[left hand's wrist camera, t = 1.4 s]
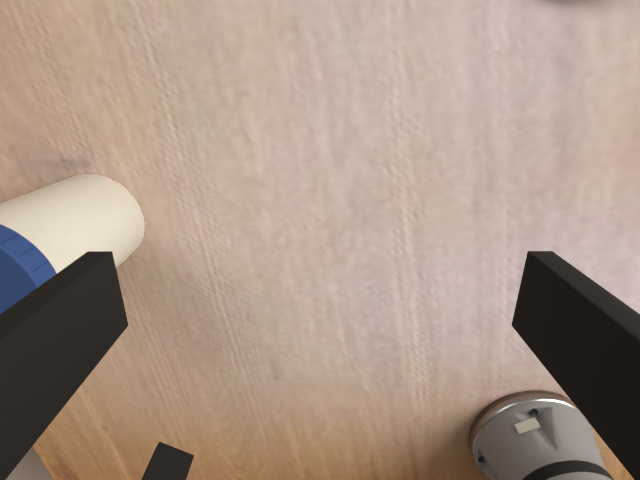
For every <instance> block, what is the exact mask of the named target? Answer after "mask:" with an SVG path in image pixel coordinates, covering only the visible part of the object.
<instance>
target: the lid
mask: <svg viewBox="0 0 640 480" xmlns="http://www.w3.org/2000/svg"><path fill="white" fill-rule="evenodd" d="M56 274H57V273H56V271H55V269H54V268H53V266H52V265H51V263H50V262H49V260H48V259H47V258H46V257H45V256H44V254H43V253H42V252H41V251H40V250H39V249H38V248H37V247H36V246H35V245H34V244H32V243H31V242H30V241H29V240H27V239H26V238H25V237H23V236H22V235H20V234H19V233H17V232H15V231H14V230H12V229H10V228H8V227H6V226H4V225H1V224H0V314H2V313H3V312H4V311H6V310H7V309H8V308H10V307H11V306H13V305H14V304H15V303H17V302H18V301H20V300H21V299H22V298H24V297H25V296H27V295H28V294H29V293H31V292H32V291H34V290H35V289H36V288H38V287H39V286H40V285H42V284H43V283H45V282H46V281H47V280H49V279H50V278H52V277H53V276H54V275H56Z"/></svg>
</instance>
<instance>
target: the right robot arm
mask: <svg viewBox="0 0 640 480" xmlns="http://www.w3.org/2000/svg"><path fill="white" fill-rule="evenodd" d="M469 447H470V450H471V453H472V455H473V458H474V460H475V462H476V464H477V466H478V468H479V469H480V470H481V471H482V473H483V474H484V475H485V476H486V477H487V479H488V480H614V479H613V478H612V477H611V475H610V474H609V473H608V471H607V470H606V468H605V465H604V463H603V460H602V457H601V454H600V451H599V449H598V446H597V443H596V440H595V437H594V435H593V432H592V429H591V426H590V424H589V422H588V420H587V419H586V418H585V417H584V415H583V414H582V413H581V412H580V410H579V409H578V408H577V407H576V405H575V404H574V403H573V402H572V401H571V400H570V399H568V398H566V397H565V396H562V395H560V394H557V393H553V392H548V391H526V392H520V393H516V394H513V395H510V396H507V397H504V398H502V399H500V400H498V401H497V402H495V403H493V404H492V405H490V406H489V407H488V408H486V409H485V410H484V411H483V412H482V413H481V414H480V415H479V416H478V418H477V419H476V420H475V422H474V423H473V425H472V428H471V430H470V434H469ZM193 457H194V455H192V454H189V453H187V452H184V451H182V450H179V449H176V448H174V447H171V446H169V445H166V444H164V443H161V442H159V444H158V445H157V447H156V449H155V451H154V453H153V456H152V458H151V460H150V462H149V464H148V467H147V469H146V471H145V473H144V475H143V478H142V480H186V478H187V475H188V472H189V469H190V466H191V463H192V460H193Z"/></svg>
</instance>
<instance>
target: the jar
mask: <svg viewBox="0 0 640 480" xmlns="http://www.w3.org/2000/svg"><path fill="white" fill-rule="evenodd" d="M0 224H1V225H4V226H6V227H8V228H10V229H12V230H14V231H15V232H17V233H19V234H20V235H22V236H23V237H25V238H26V239H27V240H29V241H30V242H31V243H32V244H34V245H35V246H36V247H37V248H38V249H39V250H40V251H41V252H42V253H43V254H44V256H45V257H46V258H47V259H48V260H49V262H50V263H51V265H52V266H53V268H54V269H55V271H56V273H59V272H60V271H61V270H63V269H64V268H65V267H67V266H68V265H70V264H71V263H72V262H74V261H75V260H77V259H78V258H79V257H81V256H82V255H84V254H85V253H86V252H88V251H112V253H113V258H114V262H115V267H116V268H117V267H118V266H119V265H120V264H121V263H122V262H124V261H125V260H126V259H127V258H128V257H129V256H130V255H131V254H132V253H133V252H134V251H136V250H137V248H138V247H139V246H140V244H141V242H142V239H143V236H144V231H145V223H144V217H143V213H142V211H141V208H140V206H139V204H138V202H137V201H136V200H135V198H134V197H133V196H132V195H131V193H130V192H129V191H128V190H127V189H125V188H124V187H123V186H122V185H120V184H119V183H117V182H115V181H114V180H112V179H109V178H107V177H104V176H101V175H96V174H80V175H75V176H72V177H70V178H67V179H64V180H62V181H59V182H56V183H54V184H51V185H48V186H45V187H43V188H40V189H37V190H35V191H32V192H29V193H27V194H24V195H21V196H19V197H16V198H13V199H11V200H8V201H5V202H2V203H0Z"/></svg>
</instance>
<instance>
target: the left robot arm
mask: <svg viewBox="0 0 640 480" xmlns="http://www.w3.org/2000/svg"><path fill="white" fill-rule="evenodd" d="M127 326H128V322H127V317H126V312H125V308H124V303H123V299H122V294H121V290H120V285H119V281H118V276H117V271H116V267H115V262H114V258H113V253H112V251H88V252H86V253H85V254H84V255H82V256H81V257H79V258H78V259H77V260H75V261H74V262H72V263H71V264H70V265H68V266H67V267H65V268H64V269H63V270H61V271H60V272H59V273H57V274H56V275H54V276H53V277H52V278H50V279H49V280H47V281H46V282H45V283H43V284H42V285H40V286H39V287H38V288H36V289H35V290H34V291H32V292H31V293H29V294H28V295H27V296H25V297H24V298H22V299H21V300H20V301H18V302H17V303H15V304H14V305H13V306H11V307H10V308H8V309H7V310H6V311H4V312H3V313H2V314H0V480H5V479H6V478H7V477H8V476H9V474H10V473H11V472H12V471H13V469H14V468H15V467H16V466H17V464H18V463H19V462H20V461H21V459H22V458H23V457H24V456H25V454H26V453H27V452H28V451H29V449H30V448H31V447H32V446H33V444H34V443H35V442H36V441H37V439H38V438H39V437H40V436H41V434H42V433H43V432H44V431H45V429H46V428H47V427H48V425H49V424H50V423H51V422H52V420H53V419H54V418H55V417H56V415H57V414H58V413H59V412H60V410H61V409H62V408H63V407H64V405H65V404H66V403H67V402H68V400H69V399H70V398H71V397H72V395H73V394H74V393H75V392H76V390H77V389H78V388H79V387H80V385H81V384H82V383H83V382H84V380H85V379H86V378H87V376H88V375H89V374H90V373H91V371H92V370H93V369H94V368H95V366H96V365H97V364H98V363H99V361H100V360H101V359H102V358H103V356H104V355H105V354H106V353H107V351H108V350H109V349H110V348H111V346H112V345H113V344H114V343H115V341H116V340H117V339H118V338H119V336H120V335H121V334H122V333H123V331H124V330H125V329H126V327H127ZM512 326H513V327H514V329H515V330H516V331H517V333H518V334H519V335H520V336H521V338H522V339H523V340H524V341H525V343H526V344H527V345H528V346H529V348H530V349H531V350H532V351H533V353H534V354H535V355H536V356H537V358H538V359H539V360H540V361H541V363H542V364H543V365H544V366H545V368H546V369H547V370H548V371H549V373H550V374H551V375H552V376H553V378H554V379H555V380H556V382H557V383H558V384H559V385H560V387H561V388H562V389H563V390H564V392H565V393H566V394H567V395H568V397H569V398H570V399H571V400H572V402H573V403H574V404H575V405H576V407H577V408H578V409H579V410H580V412H581V413H582V414H583V415H584V417H585V418H586V419H587V420H588V422H589V423H590V424H591V425H592V427H593V428H594V429H595V431H596V432H597V433H598V434H599V436H600V437H601V438H602V439H603V441H604V442H605V443H606V444H607V446H608V447H609V448H610V449H611V451H612V452H613V453H614V454H615V456H616V457H617V458H618V459H619V461H620V462H621V463H622V464H623V466H624V467H625V468H626V469H627V471H628V472H629V473H630V474H631V476H632V477H633V478H634V480H640V314H638V313H637V312H636V311H634V310H633V309H632V308H630V307H629V306H627V305H626V304H625V303H623V302H622V301H620V300H619V299H618V298H616V297H615V296H613V295H612V294H611V293H609V292H608V291H606V290H605V289H604V288H602V287H601V286H600V285H598V284H597V283H595V282H594V281H593V280H591V279H590V278H588V277H587V276H586V275H584V274H583V273H581V272H580V271H579V270H577V269H576V268H575V267H573V266H572V265H570V264H569V263H568V262H566V261H565V260H563V259H562V258H561V257H559V256H558V255H556V254H555V253H554V252H552V251H528V253H527V258H526V262H525V267H524V271H523V276H522V281H521V285H520V290H519V294H518V299H517V303H516V308H515V312H514V317H513V322H512Z"/></svg>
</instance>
